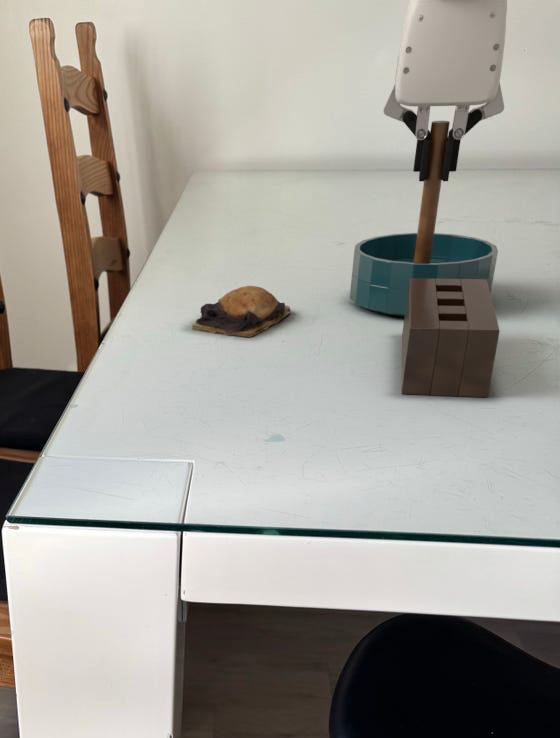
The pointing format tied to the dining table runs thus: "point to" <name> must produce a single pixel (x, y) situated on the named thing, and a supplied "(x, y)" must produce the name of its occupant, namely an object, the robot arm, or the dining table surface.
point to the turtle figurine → (242, 312)
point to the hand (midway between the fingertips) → (433, 178)
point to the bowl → (414, 267)
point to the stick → (431, 192)
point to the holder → (448, 338)
